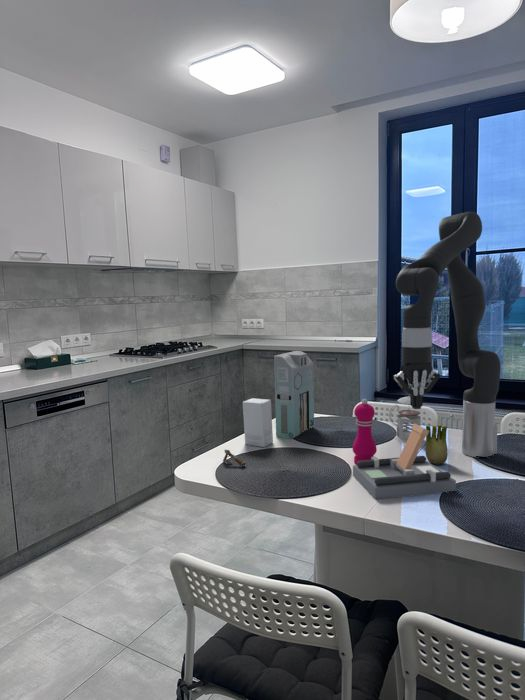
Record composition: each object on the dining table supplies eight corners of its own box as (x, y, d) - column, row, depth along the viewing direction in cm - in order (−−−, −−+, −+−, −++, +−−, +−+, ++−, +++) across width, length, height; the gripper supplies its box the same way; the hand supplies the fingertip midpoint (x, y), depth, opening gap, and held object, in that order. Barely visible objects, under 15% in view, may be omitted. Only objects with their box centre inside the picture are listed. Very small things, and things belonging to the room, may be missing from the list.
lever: (398, 468, 129) (418, 425, 129) (408, 476, 123) (429, 431, 123) (393, 465, 129) (413, 422, 129) (403, 474, 123) (424, 428, 123)
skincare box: (273, 442, 164) (272, 399, 162) (263, 448, 159) (262, 403, 157) (253, 439, 169) (252, 397, 167) (243, 444, 163) (242, 401, 161)
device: (293, 439, 168) (292, 356, 165) (275, 436, 172) (274, 355, 169) (314, 427, 182) (313, 351, 178) (297, 425, 186) (295, 350, 183)
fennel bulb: (423, 463, 141) (424, 424, 140) (430, 458, 145) (431, 421, 143) (442, 467, 137) (443, 428, 136) (449, 463, 141) (450, 424, 140)
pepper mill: (377, 467, 138) (377, 401, 136) (352, 466, 140) (352, 401, 138) (376, 459, 145) (376, 396, 143) (352, 458, 147) (352, 396, 145)
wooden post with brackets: (223, 458, 147) (227, 447, 145) (242, 473, 143) (246, 461, 142) (219, 460, 145) (223, 448, 144) (238, 475, 142) (243, 463, 140)
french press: (427, 443, 160) (428, 371, 157) (393, 443, 160) (394, 372, 157) (418, 434, 170) (419, 367, 167) (386, 435, 170) (386, 367, 167)
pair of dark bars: (423, 460, 135) (423, 452, 135) (452, 480, 120) (453, 471, 120) (355, 465, 132) (355, 458, 132) (376, 487, 117) (376, 478, 117)
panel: (424, 469, 136) (424, 452, 136) (455, 491, 120) (456, 472, 120) (352, 475, 133) (352, 458, 132) (375, 499, 117) (375, 479, 116)
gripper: (432, 341, 128) (432, 403, 130) (387, 344, 126) (387, 407, 128) (447, 344, 120) (446, 410, 122) (399, 347, 118) (399, 413, 120)
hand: (416, 408), depth 125 cm, fingers closed
